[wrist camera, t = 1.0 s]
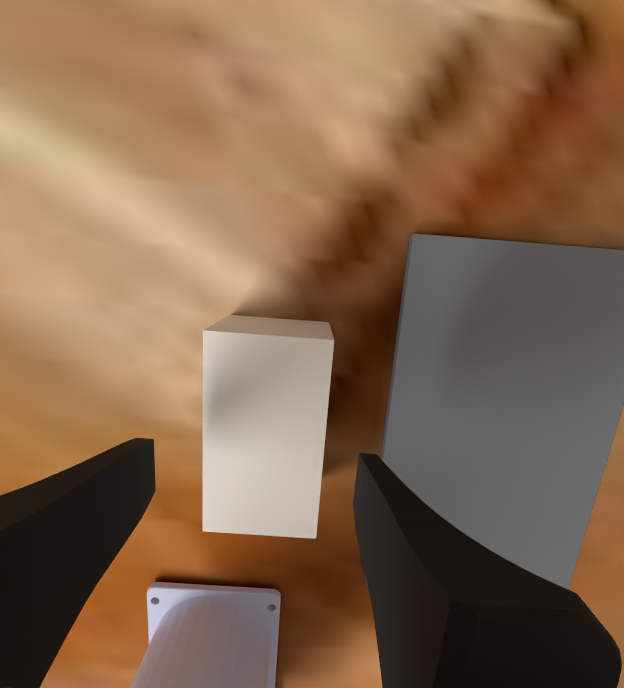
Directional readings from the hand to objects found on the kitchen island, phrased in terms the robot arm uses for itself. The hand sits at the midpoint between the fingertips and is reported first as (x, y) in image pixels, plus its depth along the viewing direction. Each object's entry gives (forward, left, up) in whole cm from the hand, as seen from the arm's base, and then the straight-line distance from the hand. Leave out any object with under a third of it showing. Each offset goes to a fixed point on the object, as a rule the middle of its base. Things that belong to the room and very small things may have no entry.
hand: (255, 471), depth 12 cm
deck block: (0, 0, -7) cm, 7 cm away
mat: (-1, -12, -6) cm, 14 cm away
